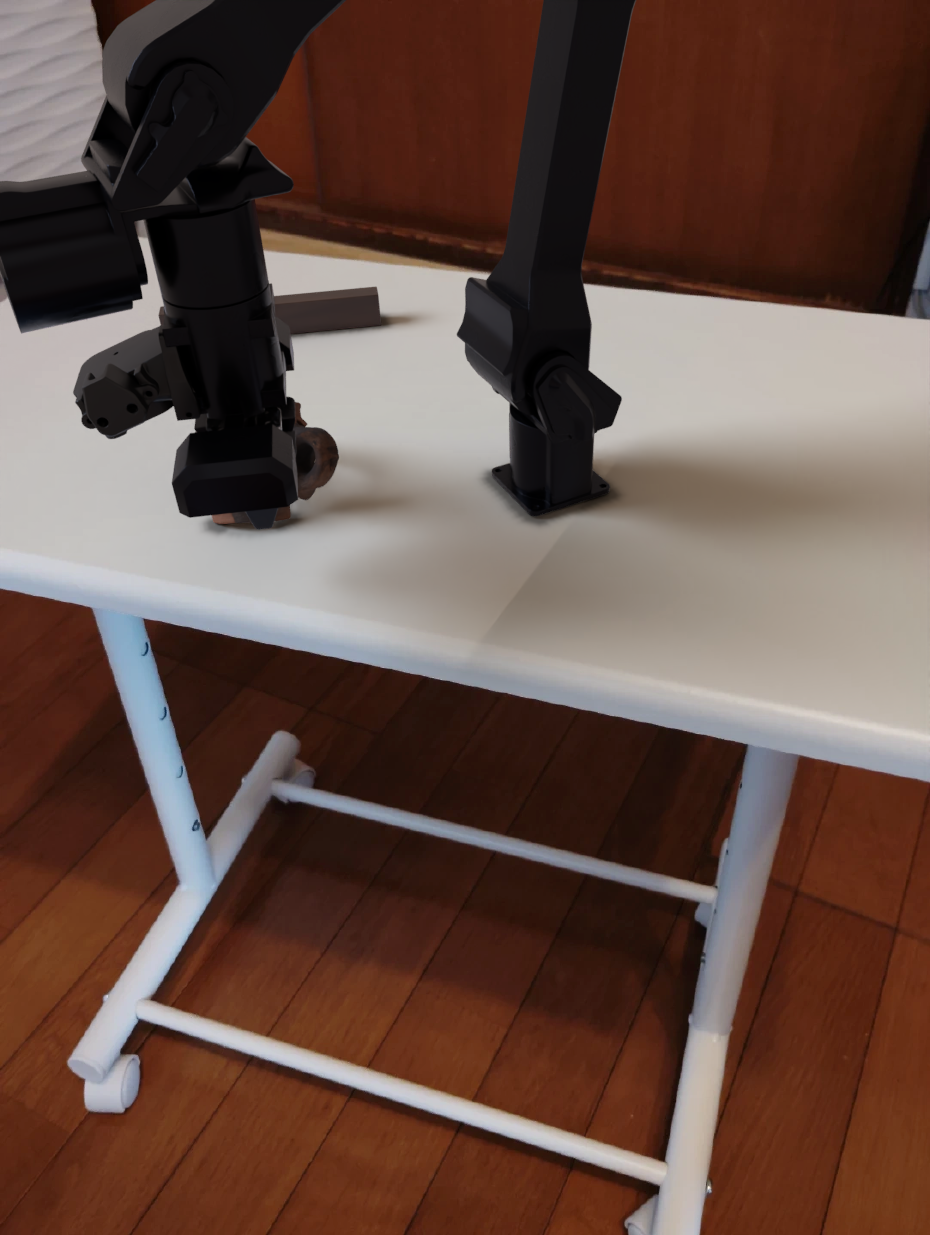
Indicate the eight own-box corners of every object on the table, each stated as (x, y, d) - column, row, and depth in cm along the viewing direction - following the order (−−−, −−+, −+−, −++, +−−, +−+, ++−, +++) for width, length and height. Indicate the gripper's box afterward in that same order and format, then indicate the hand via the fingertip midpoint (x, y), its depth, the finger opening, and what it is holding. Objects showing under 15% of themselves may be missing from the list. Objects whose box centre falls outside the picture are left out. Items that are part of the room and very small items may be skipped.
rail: (381, 325, 96) (378, 294, 94) (165, 346, 94) (158, 315, 92) (379, 316, 97) (376, 286, 95) (167, 337, 95) (160, 306, 93)
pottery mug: (172, 529, 72) (155, 411, 71) (254, 516, 80) (241, 410, 79) (312, 521, 67) (298, 393, 65) (385, 508, 75) (373, 394, 74)
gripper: (86, 239, 61) (149, 463, 71) (29, 383, 47) (117, 637, 57) (273, 222, 62) (309, 446, 72) (272, 359, 48) (317, 613, 58)
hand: (264, 525), depth 65 cm, fingers closed
